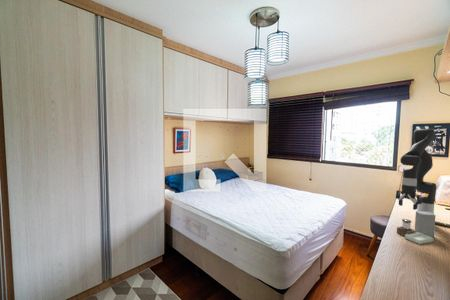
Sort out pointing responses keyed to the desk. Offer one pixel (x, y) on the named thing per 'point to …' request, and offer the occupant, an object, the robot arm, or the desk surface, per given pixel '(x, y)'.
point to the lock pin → (406, 224)
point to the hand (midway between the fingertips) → (407, 207)
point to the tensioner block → (405, 231)
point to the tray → (419, 238)
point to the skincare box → (425, 223)
